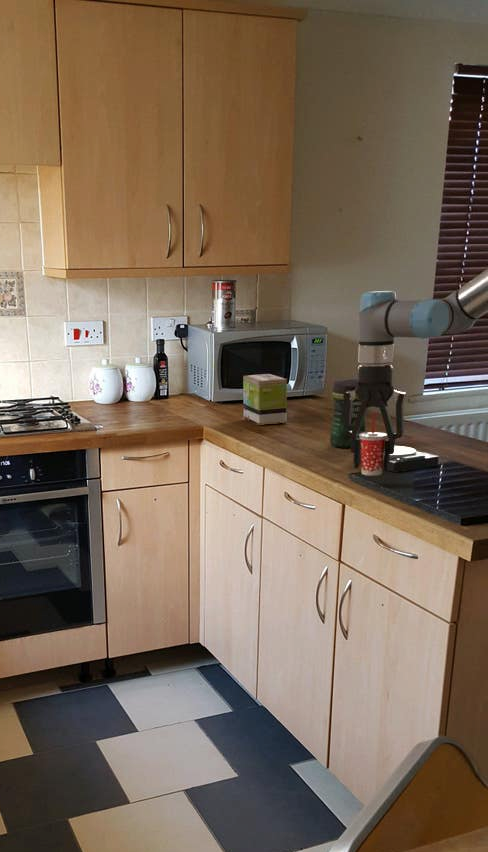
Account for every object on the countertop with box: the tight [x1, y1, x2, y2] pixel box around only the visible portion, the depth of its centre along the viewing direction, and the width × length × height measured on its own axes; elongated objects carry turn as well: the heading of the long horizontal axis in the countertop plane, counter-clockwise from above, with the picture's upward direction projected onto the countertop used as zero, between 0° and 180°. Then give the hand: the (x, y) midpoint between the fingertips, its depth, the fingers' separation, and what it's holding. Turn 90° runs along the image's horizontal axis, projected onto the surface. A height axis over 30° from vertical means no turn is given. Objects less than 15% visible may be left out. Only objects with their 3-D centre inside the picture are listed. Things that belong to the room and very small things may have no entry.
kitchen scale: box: [352, 445, 440, 473], centre depth 223 cm, size 16×14×3 cm
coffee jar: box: [329, 378, 367, 449], centre depth 244 cm, size 10×8×19 cm
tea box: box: [242, 373, 288, 423], centre depth 288 cm, size 15×10×15 cm, turn 15°
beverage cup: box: [359, 411, 388, 477], centre depth 199 cm, size 6×6×14 cm
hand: (371, 467), depth 201 cm, fingers closed on beverage cup, 6 cm apart
